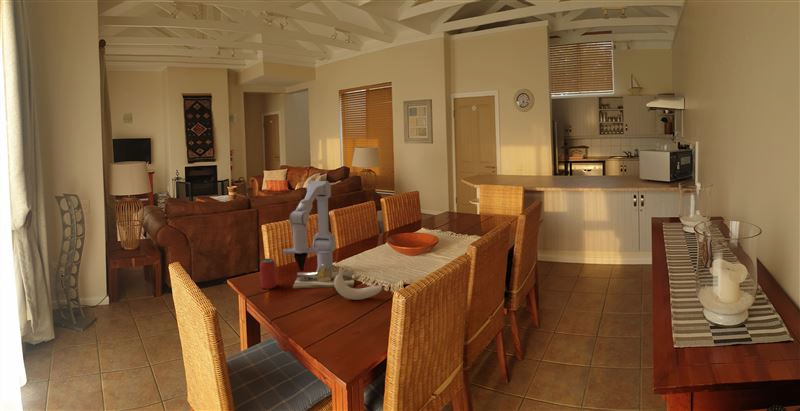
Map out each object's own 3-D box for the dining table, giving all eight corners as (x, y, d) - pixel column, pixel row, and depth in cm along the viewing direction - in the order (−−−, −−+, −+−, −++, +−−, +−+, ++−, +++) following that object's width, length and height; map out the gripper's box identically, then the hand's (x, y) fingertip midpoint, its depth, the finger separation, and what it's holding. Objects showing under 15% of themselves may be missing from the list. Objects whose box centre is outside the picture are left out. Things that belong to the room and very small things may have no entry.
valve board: (298, 277, 220) (298, 275, 220) (355, 276, 221) (355, 273, 221) (293, 288, 206) (292, 285, 206) (353, 286, 207) (353, 284, 207)
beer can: (278, 284, 212) (277, 258, 209) (273, 289, 205) (271, 262, 203) (264, 283, 212) (262, 257, 210) (258, 289, 206) (256, 262, 204)
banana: (382, 300, 192) (381, 265, 189) (335, 303, 188) (333, 268, 186) (381, 295, 196) (380, 261, 194) (334, 299, 193) (333, 264, 190)
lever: (322, 266, 213) (321, 263, 213) (327, 266, 213) (327, 262, 213) (318, 276, 200) (317, 272, 200) (323, 276, 200) (323, 272, 200)
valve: (299, 278, 215) (298, 266, 214) (352, 277, 216) (351, 264, 215) (297, 282, 210) (296, 269, 209) (351, 280, 211) (351, 268, 210)
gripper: (280, 242, 197) (282, 273, 199) (316, 241, 197) (317, 272, 200) (284, 237, 204) (286, 268, 206) (318, 237, 204) (319, 267, 206)
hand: (301, 270), depth 203 cm, fingers closed
